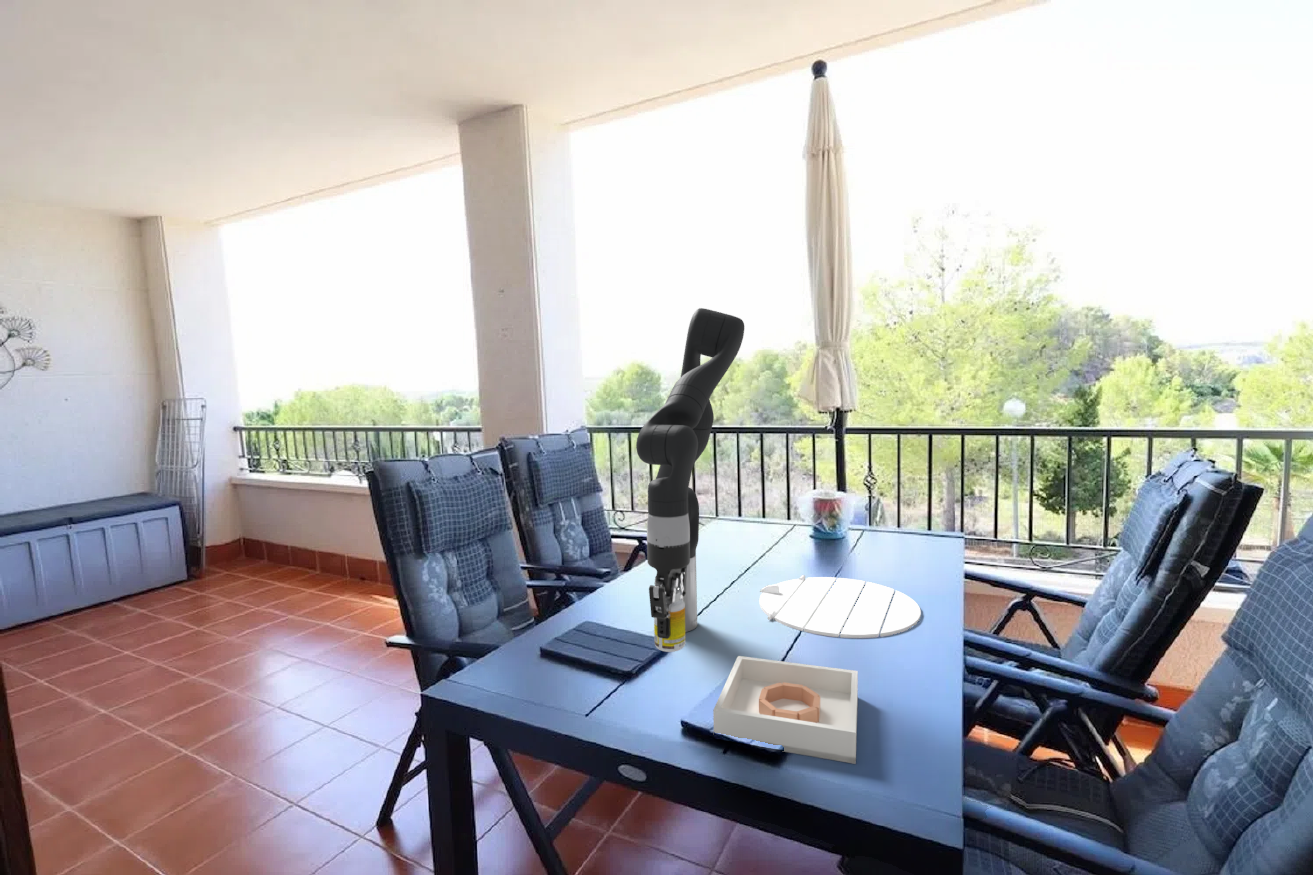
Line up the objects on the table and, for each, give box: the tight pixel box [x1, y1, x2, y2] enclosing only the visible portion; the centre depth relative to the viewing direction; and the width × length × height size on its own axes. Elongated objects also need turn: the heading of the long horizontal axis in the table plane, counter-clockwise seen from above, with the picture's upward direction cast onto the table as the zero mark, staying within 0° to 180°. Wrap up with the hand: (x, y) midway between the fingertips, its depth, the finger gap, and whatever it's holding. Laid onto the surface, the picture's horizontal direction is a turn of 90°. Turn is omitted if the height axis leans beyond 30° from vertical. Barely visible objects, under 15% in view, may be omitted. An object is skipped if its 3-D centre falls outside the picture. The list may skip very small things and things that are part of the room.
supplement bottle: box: [653, 589, 686, 653], centre depth 108 cm, size 6×6×10 cm
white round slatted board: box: [758, 574, 922, 639], centre depth 154 cm, size 40×39×3 cm
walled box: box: [712, 655, 859, 765], centre depth 104 cm, size 22×20×5 cm
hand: (669, 629), depth 108 cm, fingers closed on supplement bottle, 5 cm apart
